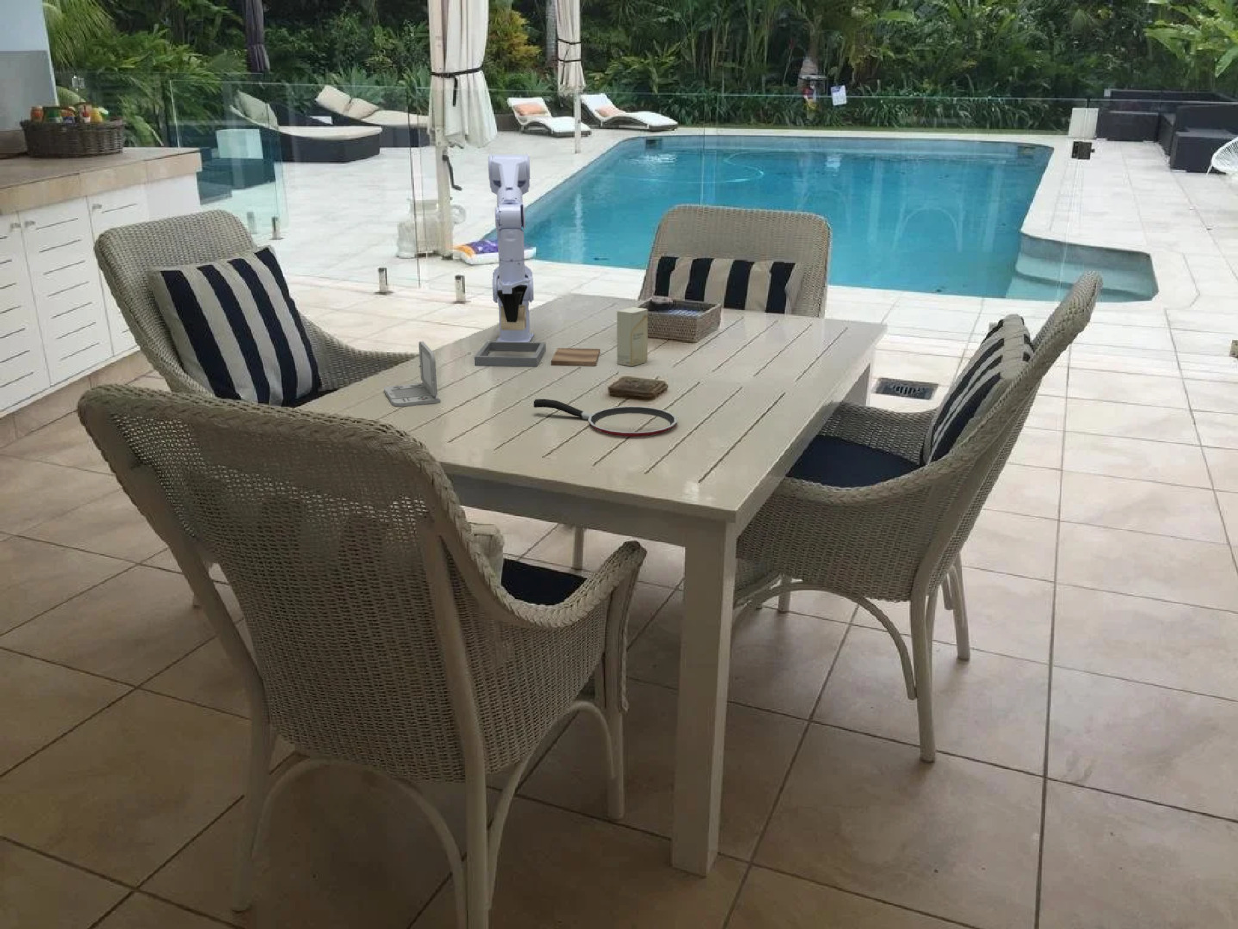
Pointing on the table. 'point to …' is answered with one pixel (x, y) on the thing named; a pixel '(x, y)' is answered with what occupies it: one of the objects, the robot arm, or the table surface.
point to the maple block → (514, 325)
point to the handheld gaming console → (417, 391)
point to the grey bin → (485, 360)
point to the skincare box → (632, 336)
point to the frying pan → (608, 412)
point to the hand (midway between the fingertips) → (513, 319)
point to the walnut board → (575, 357)
